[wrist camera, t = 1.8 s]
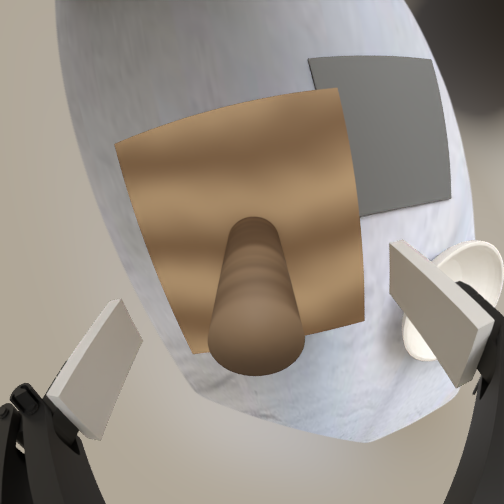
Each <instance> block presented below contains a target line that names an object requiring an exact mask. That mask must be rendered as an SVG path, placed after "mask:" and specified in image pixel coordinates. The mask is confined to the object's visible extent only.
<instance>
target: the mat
mask: <svg viewBox="0 0 504 504" xmlns="http://www.w3.org/2000/svg"><path fill="white" fill-rule="evenodd" d="M308 62H309V66H310V69H311V73H312V77H313V80H314V84H315V88H316V90H320V89H329V88H338V92H339V96H340V101H341V105H342V109H343V114H344V119H345V124H346V129H347V134H348V139H349V145H350V150H351V156H352V162H353V169H354V175H355V183H356V190H357V198H358V207H359V216H364V215H369V214H374V213H379V212H384V211H389V210H394V209H399V208H404V207H409V206H414V205H420V204H425V203H430V202H435V201H440V200H446V199H451V176H450V161H449V150H448V141H447V133H446V125H445V119H444V113H443V107H442V102H441V97H440V92H439V87H438V83H437V79H436V75H435V71H434V67H433V63H432V60H431V59H422V58H411V57H397V56H336V57H321V58H310V59H308Z"/></svg>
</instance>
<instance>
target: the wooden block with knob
mask: <svg viewBox="0 0 504 504" xmlns="http://www.w3.org/2000/svg"><path fill="white" fill-rule="evenodd" d="M114 145H115V149H116V152H117V156H118V160H119V163H120V167H121V170H122V174H123V177H124V181H125V184H126V187H127V191H128V194H129V197H130V200H131V203H132V206H133V209H134V212H135V215H136V218H137V221H138V224H139V227H140V230H141V233H142V236H143V238H144V241H145V244H146V247H147V249H148V252H149V255H150V257H151V260H152V262H153V265H154V268H155V270H156V273H157V275H158V278H159V280H160V282H161V285H162V287H163V290H164V292H165V294H166V297H167V299H168V301H169V304H170V306H171V308H172V311H173V313H174V315H175V317H176V320H177V322H178V324H179V326H180V328H181V330H182V333H183V335H184V337H185V339H186V341H187V343H188V345H189V347H190V349H191V351H192V353H193V354H198V353H206V352H210V353H211V355H212V356H213V358H214V359H215V360H216V361H217V362H218V363H219V364H220V365H221V366H223V367H224V368H226V369H228V370H230V371H232V372H235V373H238V374H242V375H247V376H264V375H269V374H273V373H276V372H279V371H281V370H283V369H285V368H287V367H288V366H290V365H291V364H292V363H294V362H295V361H296V360H297V358H298V357H299V356H300V354H301V352H302V350H303V348H304V343H305V335H310V334H314V333H319V332H323V331H327V330H331V329H335V328H339V327H343V326H347V325H351V324H355V323H359V322H362V321H364V271H363V253H362V239H361V227H360V216H359V207H358V198H357V190H356V183H355V175H354V169H353V162H352V156H351V150H350V145H349V139H348V134H347V129H346V124H345V119H344V114H343V109H342V105H341V101H340V96H339V92H338V88H329V89H320V90H312V91H304V92H297V93H290V94H284V95H278V96H273V97H267V98H262V99H257V100H252V101H248V102H243V103H239V104H234V105H230V106H226V107H222V108H218V109H215V110H211V111H207V112H204V113H200V114H197V115H193V116H190V117H187V118H183V119H180V120H177V121H174V122H171V123H168V124H165V125H162V126H159V127H157V128H154V129H151V130H148V131H146V132H143V133H140V134H138V135H135V136H133V137H130V138H128V139H125V140H123V141H120V142H118V143H116V144H114Z"/></svg>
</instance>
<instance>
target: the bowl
mask: <svg viewBox="0 0 504 504" xmlns="http://www.w3.org/2000/svg"><path fill="white" fill-rule="evenodd" d="M431 262H432V263H433V264H434V265H435V266H437V267H438V268H439V269H440V270H441V271H442V272H444V273H445V274H446V275H447V276H448V277H449V278H451V279H452V280H453V281H454V282H458V281H461V282H464V283H466V284H468V285H470V286H471V287H472V288H474V289H475V290H476V291H477V292H478V294H480V295H481V296H482V297H484V300H485V299H486V300H487V301H488V302H489V303H490V304H491V305H492V306H493V307H494V308H495V307H496V304H497V302H498V300H499V297H500V294H501V290H502V286H503V280H504V266H503V260H502V257H501V255H500V252H499V251H498V250H497V249H496V247H495V246H493V245H491V244H490V243H488V242H484V241H477V240H471V241H465V242H461V243H459V244H457V245H454V246H452V247H450V248H448V249H447V250H445V251H444V252H442V253H441V254H439V255H438V256H437V257H436V258H435V259H434V260H433V261H431ZM402 337H403V341H404V345H405V348H406V350H407V351H408V353H409V355H411V356H412V357H413V358H415V359H418V360H421V361H434V360H437V358H436V357H435V355H434V354H433V352H432V351H431V349H430V348H429V346H428V345H427V344H426V342H425V341H424V339H423V338H422V336H421V335H420V334H419V332H418V331H417V329H416V328H415V327H414V325H413V324H412V323H411V321H410V320H409V318H408V317H407V316H406V314H405V313H404V314H403V319H402Z"/></svg>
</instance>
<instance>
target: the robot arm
mask: <svg viewBox="0 0 504 504" xmlns="http://www.w3.org/2000/svg"><path fill="white" fill-rule="evenodd" d="M389 250H390V288H389V293H390V295H391V296H392V297H393V299H394V300H395V301H396V302H397V304H398V305H399V306H400V308H401V309H402V310H403V312H404V313H405V314H406V316H407V317H408V318H409V320H410V321H411V323H412V324H413V325H414V327H415V328H416V329H417V331H418V332H419V334H420V335H421V336H422V338H423V339H424V341H425V342H426V344H427V345H428V346H429V348H430V349H431V351H432V352H433V354H434V355H435V357H436V358H437V360H438V361H439V363H440V364H441V366H442V367H443V369H444V370H445V372H446V373H447V375H448V377H449V378H450V380H451V381H452V383H453V384H454V386H455V388H458V387H460V386H462V385H464V384H466V383H467V382H469V381H471V380H472V379H473V376H474V374H475V372H476V369H478V371H479V372H480V374H481V377H480V379H479V381H478V383H477V385H476V387H475V389H474V391H473V394H474V395H475V393H476V391H477V396H476V402H475V406H474V411H473V417H472V421H471V425H470V429H469V433H468V437H467V440H466V444H465V447H464V451H463V454H462V457H461V460H460V463H459V466H458V469H457V472H456V474H455V477H454V479H453V482H452V485H451V487H450V490H449V492H448V494H447V497H446V499H445V501H444V503H443V504H504V317H503V315H502V314H501V313H500V312H499V311H497V310H496V309H495V308H494V307H493V306H492V305H491V304H490V303H489V302H488V301H487V300H486V299H485V300H484V297H482V296H481V295H480V294H478V292H477V291H476V290H475V289H474V288H472V287H471V286H470V285H468V284H466V283H464V282H461V281H458V282H454V281H453V280H452V279H451V278H449V277H448V276H447V275H446V274H445V273H444V272H442V271H441V270H440V269H439V268H438V267H437V266H435V265H434V264H433V263H432V262H431V261H429V260H428V259H427V258H426V257H424V256H423V255H422V254H421V253H420V252H418V251H417V250H416V249H414V248H413V247H412V246H411V245H409V244H408V243H407V242H406V241H404V240H399V241H395V242H391V243H389ZM142 342H143V340H142V338H141V336H140V334H139V332H138V331H137V329H136V327H135V325H134V323H133V321H132V319H131V317H130V315H129V313H128V311H127V309H126V307H125V305H124V303H123V301H122V299H116V300H110V301H109V303H108V304H107V305H106V306H105V308H104V309H103V311H102V312H101V313H100V315H99V316H98V317H97V319H96V320H95V321H94V323H93V324H92V326H91V327H90V329H89V330H88V331H87V333H86V334H85V336H84V337H83V339H82V340H81V341H80V343H79V344H78V346H77V347H76V349H75V350H74V352H73V353H72V355H71V356H70V358H69V359H68V360H67V361H66V362H65V364H64V365H63V367H62V368H61V371H59V373H58V374H57V378H55V379H54V381H53V382H52V384H51V386H50V387H49V389H48V391H47V392H46V394H45V396H44V397H43V399H42V398H41V397H40V396H39V395H38V394H37V392H36V391H35V390H34V389H33V387H31V385H30V384H29V383H24V384H21V385H19V386H18V387H17V388H16V389H15V390H14V391H13V392H12V394H11V396H10V401H11V402H12V403H13V404H14V405H15V407H16V408H17V409H18V410H19V411H17V410H16V408H15V407H14V406H13V405H12V404H10V403H6V404H4V405H2V407H0V504H106V503H105V501H104V499H103V497H102V495H101V492H100V490H99V488H98V485H97V483H96V480H95V478H94V475H93V473H92V470H91V467H90V465H89V462H88V459H87V456H86V453H85V450H84V447H83V444H82V441H81V439H80V438H79V437H78V436H77V433H78V431H80V432H81V433H83V434H84V435H85V436H86V437H87V438H89V439H94V440H99V441H101V439H102V436H103V434H104V431H105V428H106V426H107V423H108V421H109V418H110V416H111V413H112V411H113V408H114V406H115V403H116V401H117V398H118V396H119V394H120V391H121V389H122V387H123V384H124V382H125V380H126V377H127V375H128V373H129V370H130V368H131V366H132V364H133V361H134V359H135V357H136V355H137V352H138V350H139V348H140V346H141V344H142ZM16 442H18V444H20V445H21V446H22V447H23V448H24V449H25V454H24V453H22V452H21V451H20V450H18V449H17V448H16Z"/></svg>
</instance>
